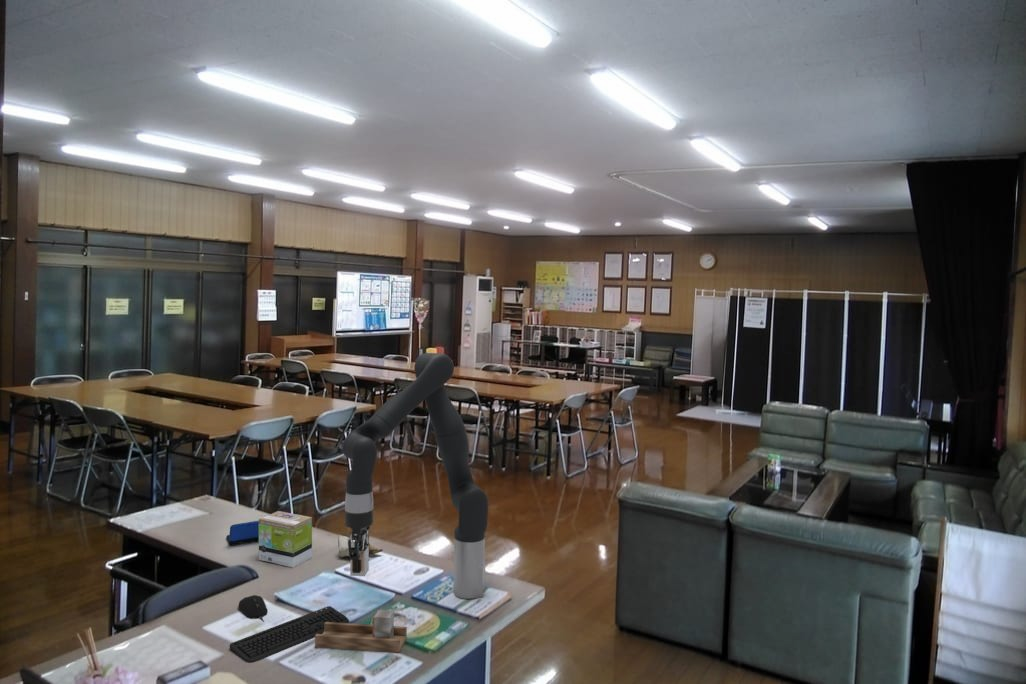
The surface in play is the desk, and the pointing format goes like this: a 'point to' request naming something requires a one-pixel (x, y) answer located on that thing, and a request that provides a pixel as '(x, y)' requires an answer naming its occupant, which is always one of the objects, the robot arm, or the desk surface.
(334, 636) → the rail
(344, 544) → the ceramic sculpture
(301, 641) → the keyboard
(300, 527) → the tea box
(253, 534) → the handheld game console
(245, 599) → the gaming mouse
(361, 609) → the desk surface
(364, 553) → the gray metallic block
